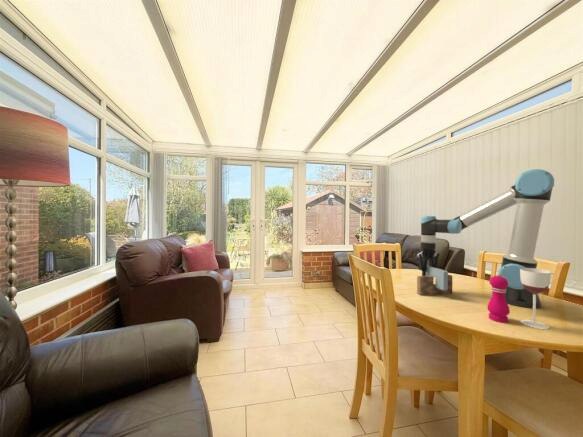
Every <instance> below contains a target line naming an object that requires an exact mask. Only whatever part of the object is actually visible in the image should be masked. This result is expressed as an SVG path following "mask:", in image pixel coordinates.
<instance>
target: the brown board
mask: <svg viewBox="0 0 583 437" xmlns="http://www.w3.org/2000/svg"><path fill="white" fill-rule="evenodd" d="M416 277H417V278H416V280H417V281H416V284H417V286H416V288H417V289H416V294H417V295H419V296H429V295H431V296H432V295H433V296H434V295H447V294H448V295H449V294H453V275H451V274H448V290H441V289H439V288H436V287H435V283H433V277H432V276H422V275H417V276H416Z"/></svg>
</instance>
